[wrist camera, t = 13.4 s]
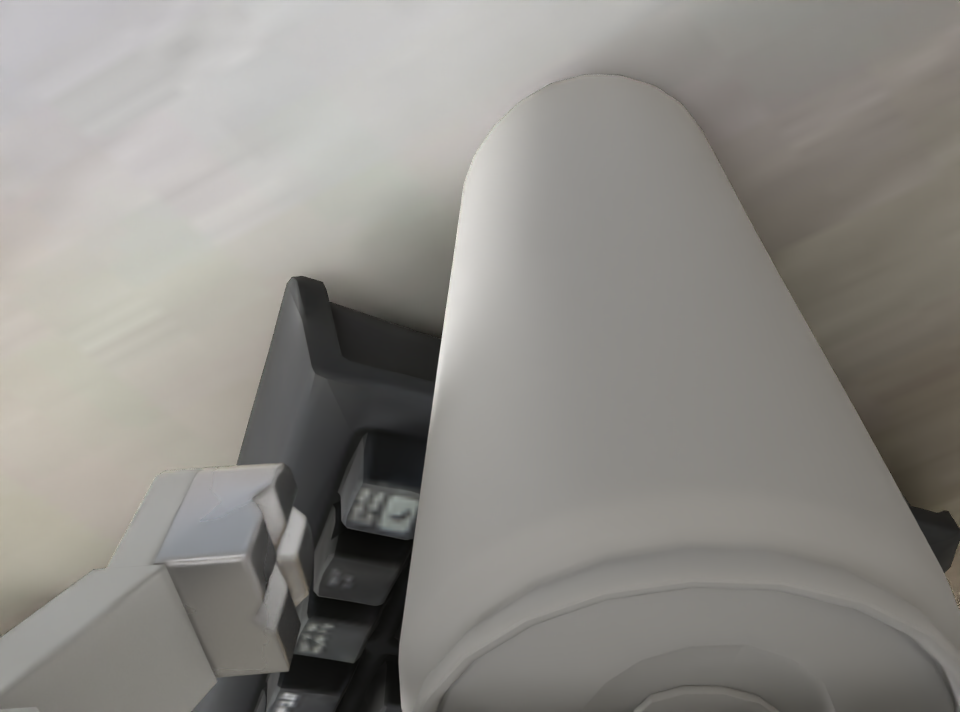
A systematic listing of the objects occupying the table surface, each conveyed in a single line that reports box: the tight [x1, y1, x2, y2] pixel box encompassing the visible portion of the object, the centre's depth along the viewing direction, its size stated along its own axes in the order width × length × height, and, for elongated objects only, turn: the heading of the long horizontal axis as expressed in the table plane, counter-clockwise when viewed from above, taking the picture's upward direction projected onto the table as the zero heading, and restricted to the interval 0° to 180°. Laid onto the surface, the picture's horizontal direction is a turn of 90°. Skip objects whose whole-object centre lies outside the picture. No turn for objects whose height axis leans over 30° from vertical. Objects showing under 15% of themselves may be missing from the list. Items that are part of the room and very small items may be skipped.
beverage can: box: [398, 75, 960, 712], centre depth 12 cm, size 5×5×12 cm
